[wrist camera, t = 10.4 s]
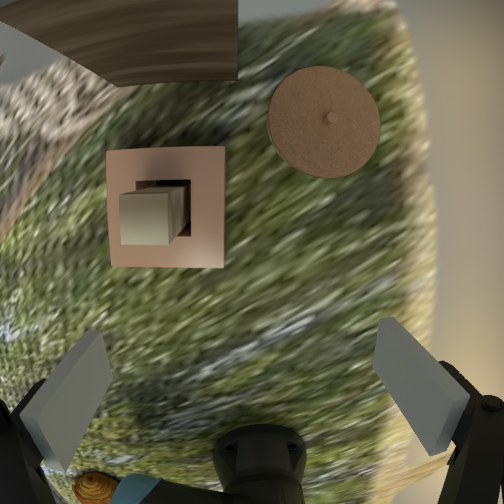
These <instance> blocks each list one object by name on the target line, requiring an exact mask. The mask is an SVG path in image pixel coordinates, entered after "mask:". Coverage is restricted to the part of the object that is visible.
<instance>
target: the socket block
mask: <svg viewBox="0 0 504 504" xmlns="http://www.w3.org/2000/svg"><path fill="white" fill-rule="evenodd" d="M226 159H227V149H226V147H225V146H187V147H158V148H139V149H124V150H111V151H106V177H107V211H108V229H109V243H110V255H111V266H125V267H176V268H224V263H225V256H226ZM183 179H191V227H184V228H183V229H182V230H181V232H180V233H179V234H178V235H177V236H176V237H175V238H174V240H173V241H172V242H171V243H170V244H169V245H121V234H120V216H119V195H120V194H123V193H127V192H131V191H135V190H139V189H143V188H147V187H149V180H183Z"/></svg>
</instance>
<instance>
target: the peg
mask: <svg viewBox="0 0 504 504" xmlns="http://www.w3.org/2000/svg"><path fill="white" fill-rule="evenodd" d="M119 216H120V234H121V245H169V244H170V243H171V242H172V241H173V240H174V238H175V237H176V236H177V235H178V234H179V233H180V232H181V230H182V229H183V228H184V227H185V226H186V225H187V224H188V222H189V221H190V185H156V186H151V187H147V188H143V189H139V190H135V191H131V192H127V193H123V194H120V195H119Z"/></svg>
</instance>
